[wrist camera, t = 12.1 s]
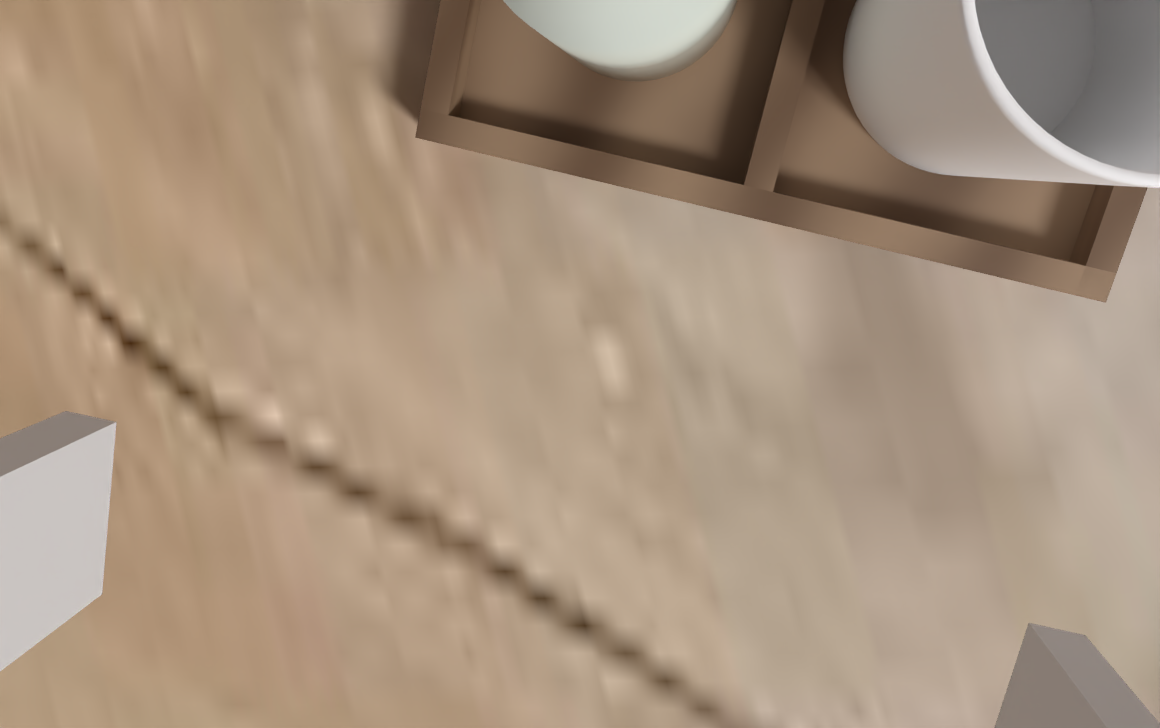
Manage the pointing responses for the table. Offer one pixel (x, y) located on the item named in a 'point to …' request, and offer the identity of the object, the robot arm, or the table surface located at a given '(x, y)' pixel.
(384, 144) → the table surface
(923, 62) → the cup
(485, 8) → the caddy
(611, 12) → the pale green rounded cylinder
